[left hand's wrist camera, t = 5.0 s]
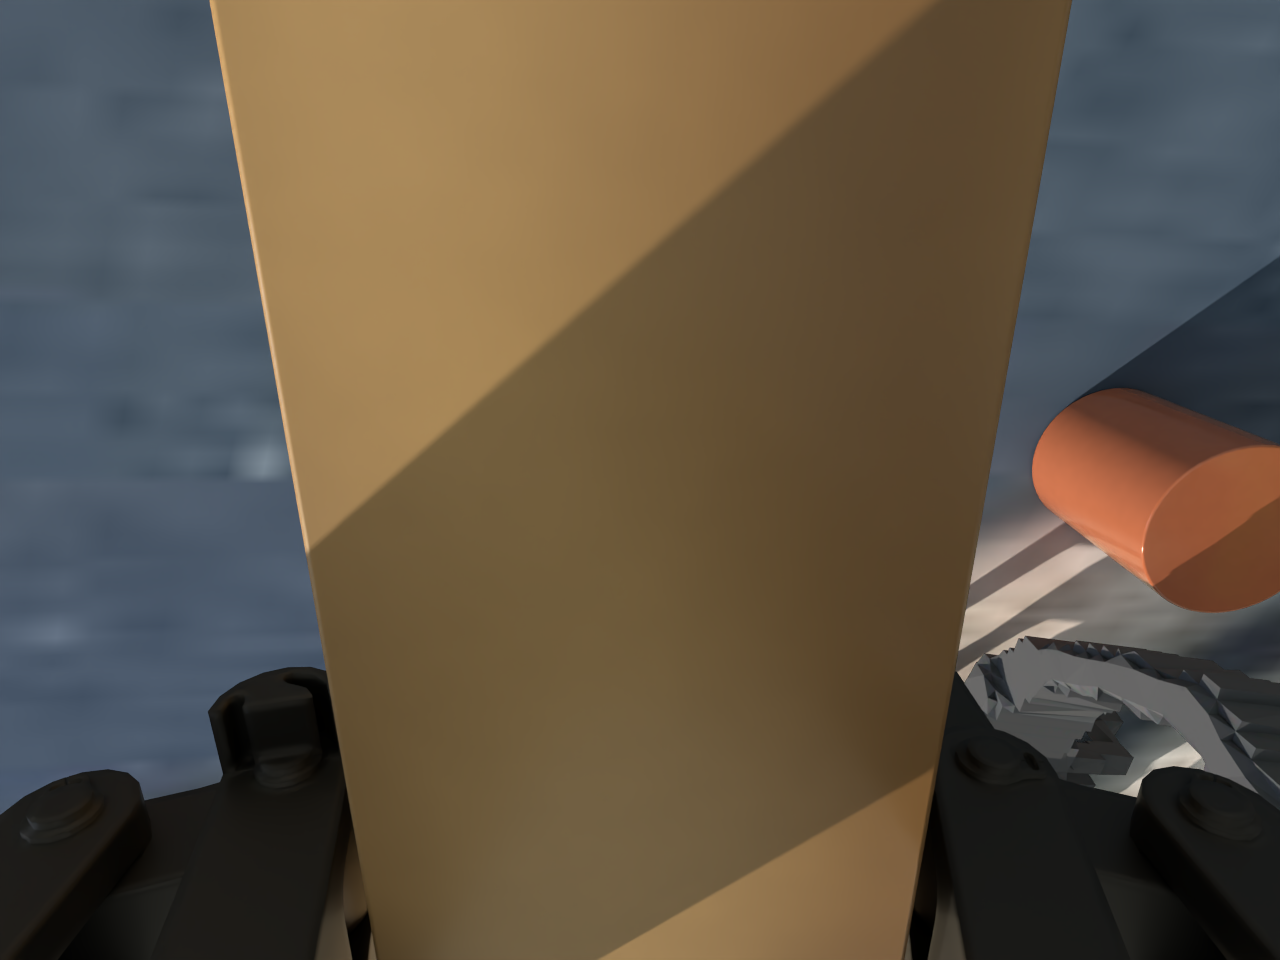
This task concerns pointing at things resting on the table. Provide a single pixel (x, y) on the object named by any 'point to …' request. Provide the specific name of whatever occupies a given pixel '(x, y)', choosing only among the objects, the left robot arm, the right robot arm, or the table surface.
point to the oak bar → (640, 441)
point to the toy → (1147, 684)
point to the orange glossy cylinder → (1167, 496)
